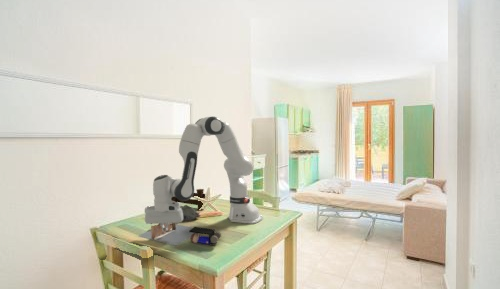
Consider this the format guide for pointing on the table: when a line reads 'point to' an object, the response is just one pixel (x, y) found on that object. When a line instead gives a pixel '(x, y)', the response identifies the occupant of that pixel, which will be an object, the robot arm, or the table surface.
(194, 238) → the figurine character
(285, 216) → the table surface
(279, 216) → the table surface
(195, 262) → the table surface
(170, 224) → the fixed fence section
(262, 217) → the robot arm
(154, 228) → the hinged fence panel
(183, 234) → the card
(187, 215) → the mineral rock
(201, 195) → the decorative fence
